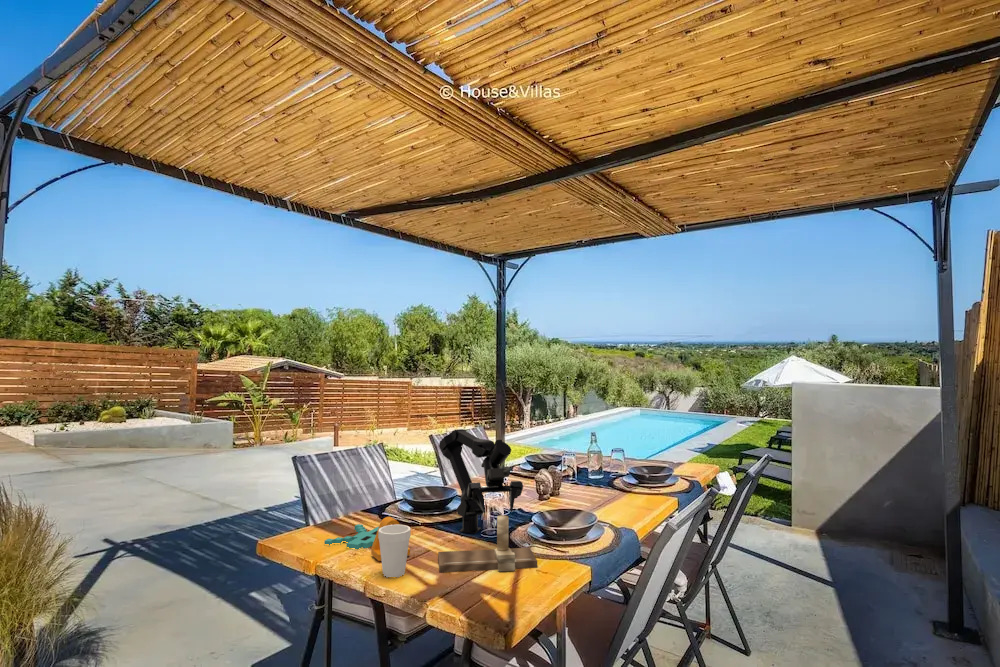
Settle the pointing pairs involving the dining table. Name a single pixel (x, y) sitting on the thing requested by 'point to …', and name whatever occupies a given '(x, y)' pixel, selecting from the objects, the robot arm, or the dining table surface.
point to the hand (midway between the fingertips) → (498, 511)
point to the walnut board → (482, 560)
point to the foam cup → (394, 549)
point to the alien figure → (357, 538)
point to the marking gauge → (504, 546)
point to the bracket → (376, 545)
